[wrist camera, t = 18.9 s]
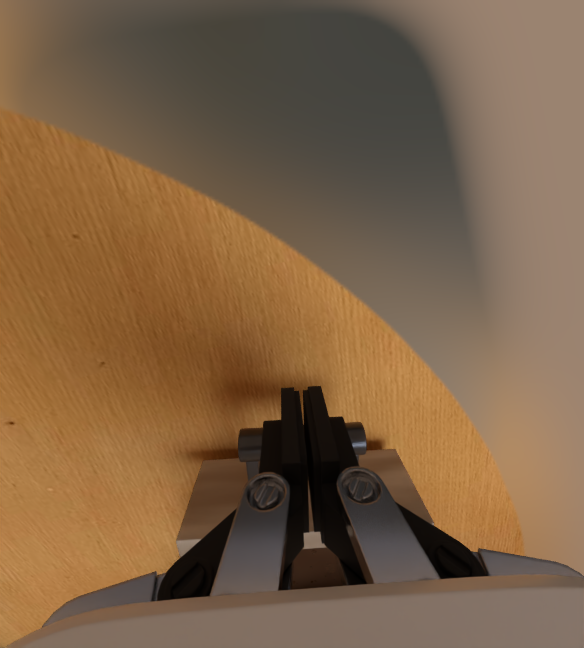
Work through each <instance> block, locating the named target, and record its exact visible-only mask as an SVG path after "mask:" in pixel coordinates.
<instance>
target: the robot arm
mask: <svg viewBox="0 0 584 648" xmlns="http://www.w3.org/2000/svg"><path fill="white" fill-rule="evenodd" d="M303 411H304V428H303V419H302V411H301V402H300V394H299V391H294V387H293V388H281V420H274V421H264V423H263V433H262V445H261V456H260V467H259V474H257V475H255V476H254V477H252V478H251V479H250V480H249V481H248V482H247V483H246V484H245V486H244V488H243V491H242V494H241V497H240V500H239V503H238V507H237V508H236V509H235V510H234V511H233V512H232V513H231V514H229V515H228V516H227V517H226V518H225V519H224V520H223V521H222V522H220V523H219V524H218V525H217V526H216V527H215V528H214V529H212V530H211V531H210V532H209V533H208V534H207V535H206V536H205V537H203V538H202V539H201V540H200V541H199V542H198V543H197V544H196V545H194V546H193V547H192V548H191V549H190V550H189V551H188V552H186V553H185V554H184V555H183V556H182V557H181V558H180V559H179V560H177V561H176V562H175V563H174V564H173V566H172V567H171V568H170V569H169V570H168V571H167V572H166V573H163V574H160V575H157V572H156V571H155V572H152V573H149V574H146V575H143V576H140V577H137V578H133V579H130V580H127V581H124V582H121V583H118V584H115V585H112V586H109V587H106V588H103V589H100V590H97V591H93V592H90V593H87V594H84V595H81V596H78V597H76V598H74V599H72V600H70V601H68V602H66V603H65V604H64V605H63V606H61V607H60V608H59V609H58V610H56V611H55V612H54V613H53V614H52V615H51V616H50V618H49V619H48V620H47V621H46V622H45V623H44V625H43V626H42V628H41V629H38V630H36V631H34V632H32V633H30V634H28V635H26V636H24V637H22V638H20V639H18V640H16V641H14V642H13V643H11V644H9V645H7V646H6V647H4V648H584V576H583V575H582V574H580V573H579V572H577V571H575V570H574V569H572V568H570V567H569V566H566V565H564V564H561V563H558V562H554V561H548V560H542V559H536V558H531V557H526V556H520V555H514V554H509V553H503V552H497V551H492V550H486V549H480V548H478V552H472V551H470V550H469V549H468V548H467V547H466V546H464V545H463V544H462V543H460V542H459V541H457V540H456V539H454V538H452V537H451V536H449V535H448V534H446V533H445V532H443V531H441V530H440V529H438V528H437V527H435V526H433V525H432V524H430V523H429V522H427V521H425V520H424V519H422V518H421V517H419V516H417V515H416V514H414V513H413V512H411V511H409V510H408V509H406V508H405V507H403V506H401V505H400V504H398V503H397V502H395V501H394V499H393V497H392V496H391V494H390V492H389V491H388V489H387V487H386V485H385V484H384V482H383V481H382V479H381V478H380V477H379V476H378V475H377V474H376V473H375V472H373V471H372V470H369V469H367V468H364V467H360V466H359V463H358V460H357V457H356V454H355V451H354V448H353V445H352V442H351V439H350V436H349V434H348V431H347V428H346V425H345V422H344V419H343V417H329V416H328V412H327V408H326V404H325V400H324V397H323V393H322V389H321V386H312V387H308V390H303ZM308 482H309V491H310V500H311V509H312V517H313V526H314V532H320V534H321V542H322V544H324V545H325V546H326V547H327V548H328V549H329V550H331V551H332V552H333V553H334V554H335V559H336V564H337V568H338V571H339V574H340V577H341V581H342V584H343V586H335V587H322V588H309V589H295V590H292V584H293V572H294V559H295V558H296V556H297V555H298V554H299V553H300V551H301V550H302V549H303V548H304V533H309V501H308Z"/></svg>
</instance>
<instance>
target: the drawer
mask: <svg viewBox="0 0 584 648" xmlns="http://www.w3.org/2000/svg"><path fill="white" fill-rule="evenodd" d="M345 425H346V428H347V431H348V434H349V436H350V439H351V442H352V445H353V448H354V451H355V454H356V457H357V460H358V463H359V466H360V467H364V468H367V469H369V470H372V471H373V472H375V473H376V474H377V475H378V476H379V477H380V478H381V479H382V481H383V482H384V484H385V485H386V487H387V489H388V491H389V492H390V494H391V496H392V497H393V499H394V501H395V502H397V503H398V504H400V505H401V506H403V507H405V508H406V509H408V510H409V511H411V512H413V513H414V514H416V515H417V516H419V517H421V518H422V519H424V520H425V521H427V522H429V523H430V524H432V525H433V526H434V522H433V520H432V518H431V516H430V514H429V513H428V511H427V509H426V507H425V505H424V503H423V501H422V499H421V497H420V495H419V493H418V492H417V490H416V488H415V486H414V484H413V482H412V480H411V478H410V476H409V474H408V472H407V471H406V469H405V467H404V465H403V463H402V461H401V459H400V457H399V455H398V453H397V451H396V449H385V450H368V451H366V450H367V442H366V435H365V430H364V427H363V425H362V423H361V422H350V423H345ZM303 428H304V425H303ZM262 433H263V428H246V429H241V430H240V433H239V439H238V455H239V458H236V459H219V460H204V461H203V462H202V465H201V468H200V471H199V474H198V477H197V480H196V483H195V486H194V489H193V492H192V495H191V498H190V501H189V504H188V507H187V510H186V513H185V516H184V519H183V522H182V525H181V528H180V531H179V534H178V537H177V539H176V543H177V547H178V551H179V555H180V557H182V556H183V555H184V554H185V553H186V552H188V551H189V550H190V549H191V548H192V547H193V546H194V545H196V544H197V543H198V542H199V541H200V540H201V539H202V538H203V537H205V536H206V535H207V534H208V533H209V532H210V531H211V530H212V529H214V528H215V527H216V526H217V525H218V524H219V523H220V522H222V521H223V520H224V519H225V518H226V517H227V516H228V515H229V514H231V513H232V512H233V511H234V510H235V509H236V508H237V507H238V503H239V500H240V497H241V494H242V491H243V488H244V486H245V484H246V483H247V482H248V481H249V480H250V479H251V478H252V477H254V476H255V475H257V474H259V467H260V456H261V445H262ZM308 501H309V533H304V548H303V549H302V550H301V551H300V553H299V554H298V555H297V556H296V558H295V559H294V572H293V584H292V590H295V589H309V588H322V587H335V586H343V584H342V581H341V577H340V574H339V571H338V568H337V564H336V559H335V554H334V553H333V552H332V551H331V550H329V549H328V548H327V547H326V546H325V545H324V544H322V542H321V534H320V532H314V526H313V517H312V509H311V500H310V491H309V482H308Z"/></svg>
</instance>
